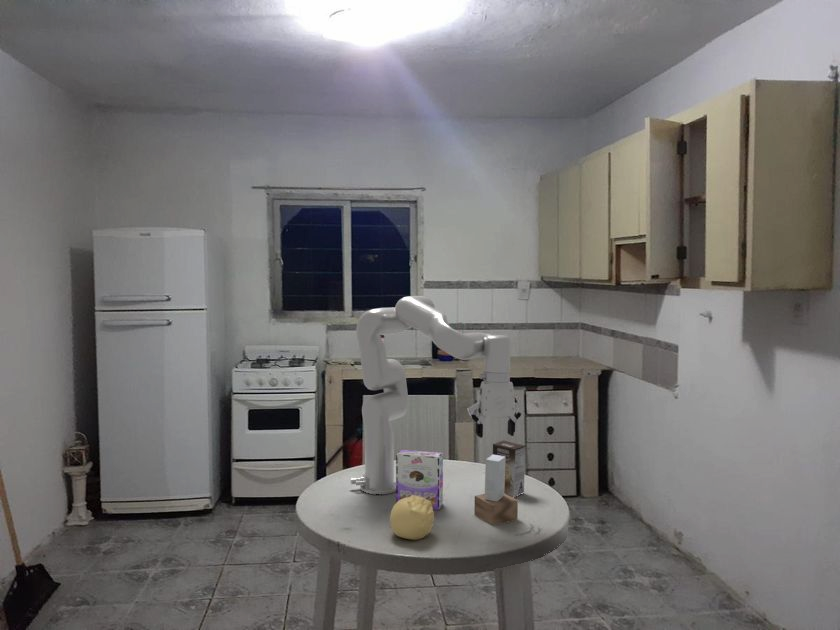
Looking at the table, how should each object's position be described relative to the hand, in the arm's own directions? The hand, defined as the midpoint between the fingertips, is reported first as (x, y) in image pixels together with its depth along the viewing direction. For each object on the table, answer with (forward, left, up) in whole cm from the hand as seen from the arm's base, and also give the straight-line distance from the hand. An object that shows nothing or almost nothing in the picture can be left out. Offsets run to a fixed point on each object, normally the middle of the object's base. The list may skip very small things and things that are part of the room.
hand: (495, 435), depth 190 cm
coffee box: (+12, +19, -24) cm, 33 cm away
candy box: (-19, +15, -24) cm, 34 cm away
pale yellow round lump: (-27, -7, -24) cm, 37 cm away
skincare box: (0, 0, -19) cm, 19 cm away
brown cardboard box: (0, 0, -24) cm, 24 cm away
